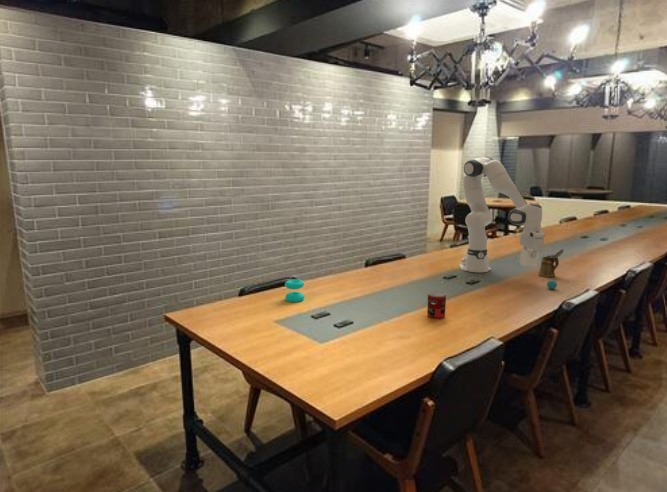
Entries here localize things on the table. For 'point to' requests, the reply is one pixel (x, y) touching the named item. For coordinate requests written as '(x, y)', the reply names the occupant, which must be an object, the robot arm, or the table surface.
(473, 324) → the table surface
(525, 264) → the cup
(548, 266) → the wooden mug
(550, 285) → the ball
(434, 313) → the canned food
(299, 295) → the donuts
